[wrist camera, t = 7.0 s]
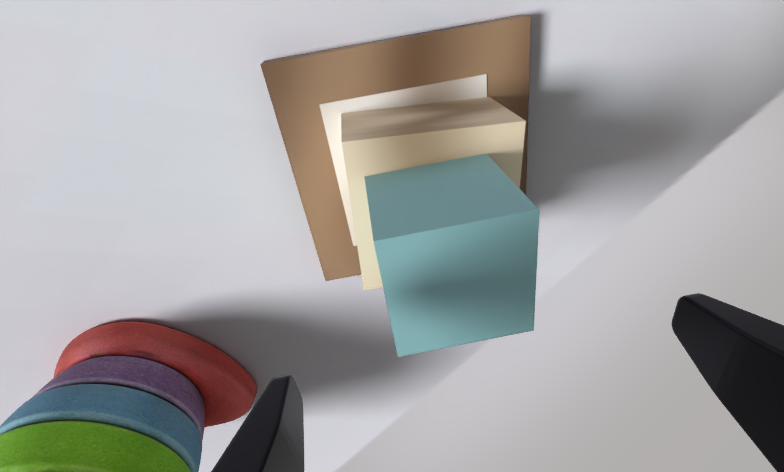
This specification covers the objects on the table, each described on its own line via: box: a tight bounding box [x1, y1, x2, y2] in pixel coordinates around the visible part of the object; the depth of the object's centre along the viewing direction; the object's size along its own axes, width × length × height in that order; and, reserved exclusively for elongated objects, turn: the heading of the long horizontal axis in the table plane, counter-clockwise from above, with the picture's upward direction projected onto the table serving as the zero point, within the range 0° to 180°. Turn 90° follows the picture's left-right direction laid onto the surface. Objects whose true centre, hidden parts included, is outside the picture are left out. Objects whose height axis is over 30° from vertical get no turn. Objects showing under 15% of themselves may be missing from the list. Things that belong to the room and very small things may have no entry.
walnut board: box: [261, 15, 531, 281], centre depth 19 cm, size 11×11×1 cm
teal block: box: [364, 154, 539, 357], centre depth 14 cm, size 4×4×4 cm
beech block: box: [341, 97, 526, 290], centre depth 17 cm, size 6×6×4 cm
